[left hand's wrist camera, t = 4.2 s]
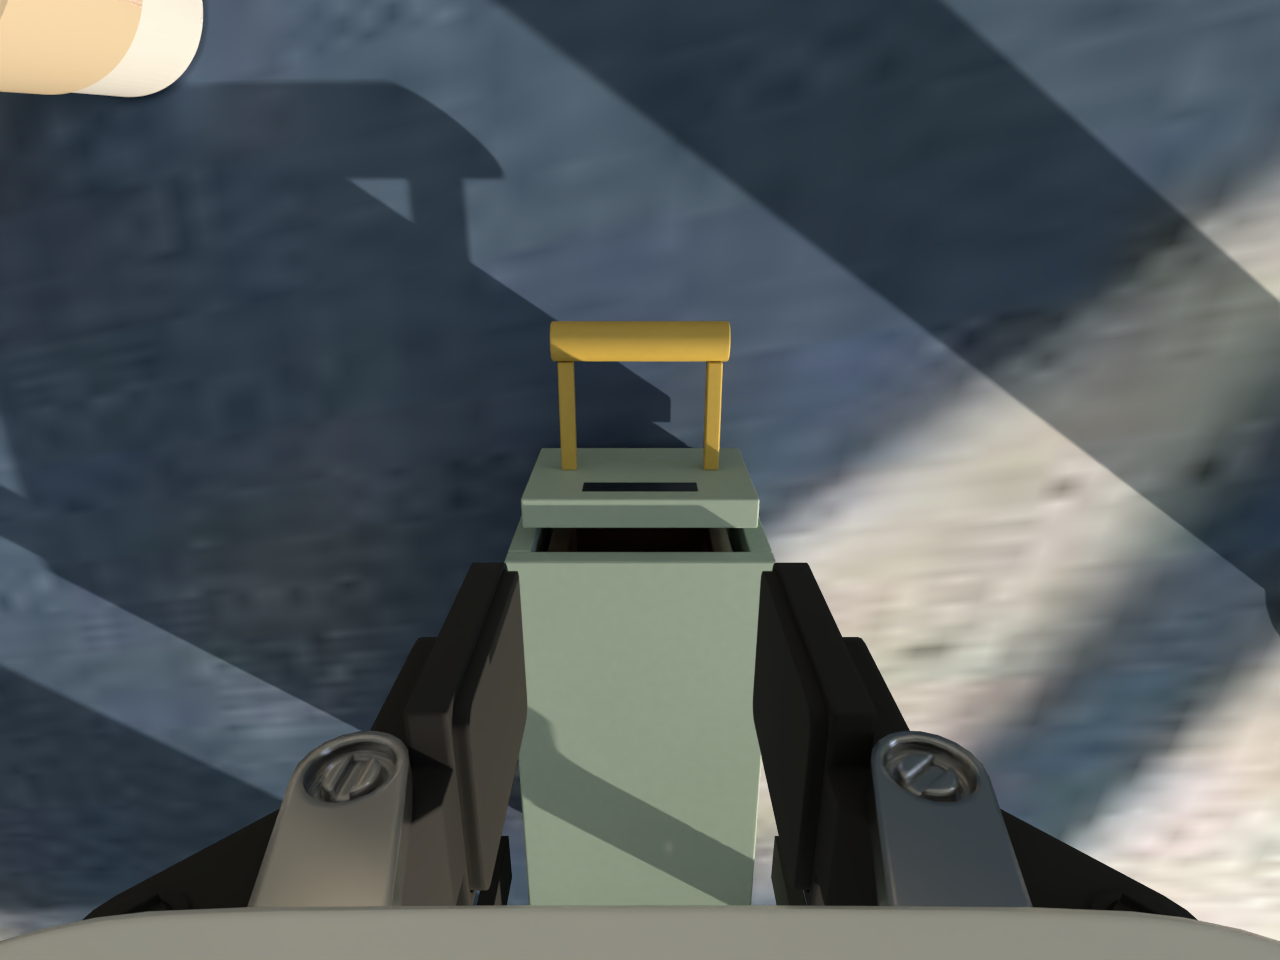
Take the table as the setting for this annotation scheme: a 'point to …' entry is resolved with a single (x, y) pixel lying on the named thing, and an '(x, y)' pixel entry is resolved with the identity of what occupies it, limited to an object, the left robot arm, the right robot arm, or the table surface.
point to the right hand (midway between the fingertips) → (641, 855)
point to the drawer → (640, 455)
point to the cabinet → (640, 722)
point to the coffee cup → (96, 45)
